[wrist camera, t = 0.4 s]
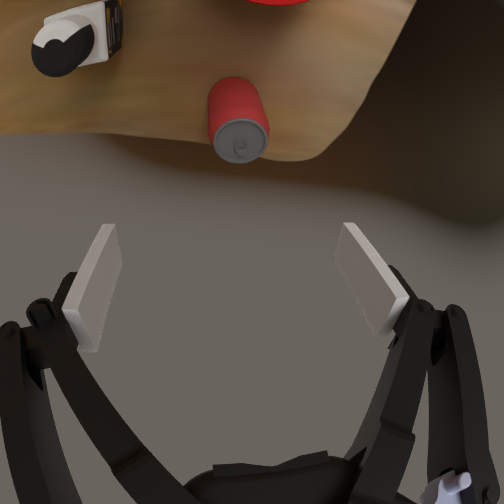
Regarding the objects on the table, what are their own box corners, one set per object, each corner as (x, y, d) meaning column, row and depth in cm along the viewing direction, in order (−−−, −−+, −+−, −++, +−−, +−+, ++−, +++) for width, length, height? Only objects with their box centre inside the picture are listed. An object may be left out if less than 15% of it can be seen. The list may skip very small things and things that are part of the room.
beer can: (211, 120, 38) (212, 171, 31) (205, 78, 33) (203, 118, 26) (258, 115, 39) (273, 164, 31) (256, 73, 33) (273, 111, 26)
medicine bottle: (124, 46, 27) (92, 76, 20) (74, 56, 26) (30, 92, 19) (122, -4, 22) (85, 6, 14) (68, 9, 20) (18, 29, 13)
